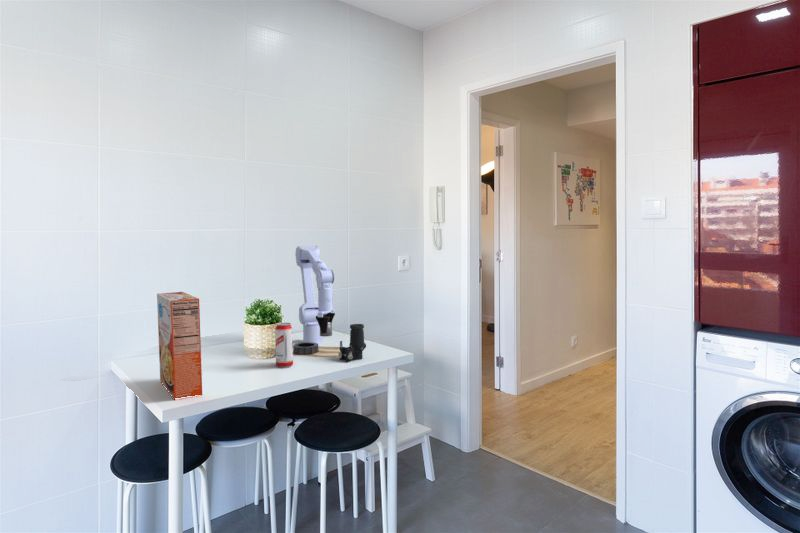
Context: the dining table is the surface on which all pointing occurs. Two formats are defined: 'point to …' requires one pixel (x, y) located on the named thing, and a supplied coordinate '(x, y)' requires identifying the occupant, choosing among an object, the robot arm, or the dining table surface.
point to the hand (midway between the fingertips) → (325, 331)
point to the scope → (353, 344)
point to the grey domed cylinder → (329, 330)
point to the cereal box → (179, 343)
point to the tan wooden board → (324, 352)
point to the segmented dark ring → (305, 348)
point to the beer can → (284, 345)
